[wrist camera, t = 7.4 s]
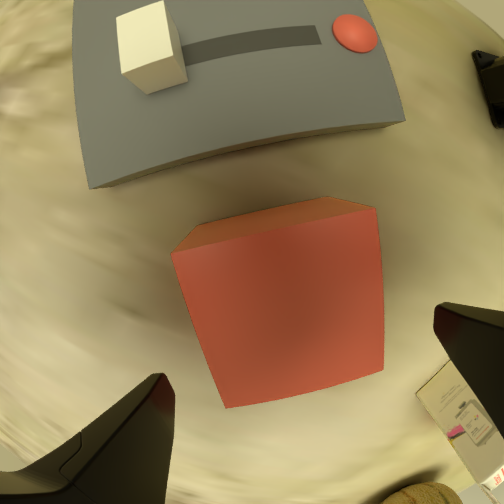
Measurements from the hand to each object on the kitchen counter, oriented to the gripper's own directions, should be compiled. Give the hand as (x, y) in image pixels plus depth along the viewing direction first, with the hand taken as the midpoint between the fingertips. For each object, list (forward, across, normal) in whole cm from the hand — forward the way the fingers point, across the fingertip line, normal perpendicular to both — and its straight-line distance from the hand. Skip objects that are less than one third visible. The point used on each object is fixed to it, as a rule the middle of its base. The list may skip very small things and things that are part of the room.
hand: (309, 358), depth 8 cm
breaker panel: (+8, 0, -17) cm, 19 cm away
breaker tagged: (+6, +3, -12) cm, 14 cm away
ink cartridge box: (+8, -14, +16) cm, 23 cm away
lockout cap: (+8, 0, 0) cm, 8 cm away
